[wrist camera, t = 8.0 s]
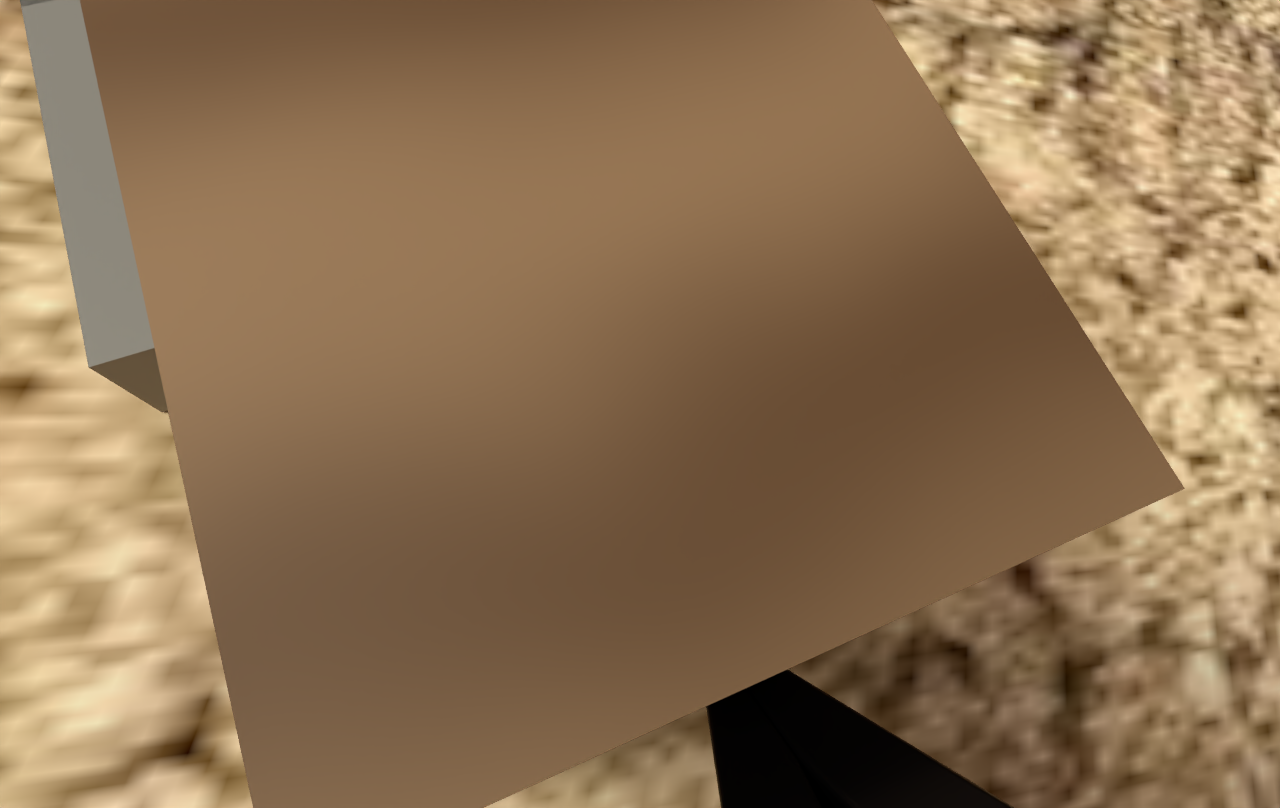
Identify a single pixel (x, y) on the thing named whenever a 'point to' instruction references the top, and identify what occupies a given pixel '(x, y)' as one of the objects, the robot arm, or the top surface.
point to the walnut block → (576, 365)
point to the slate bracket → (91, 201)
